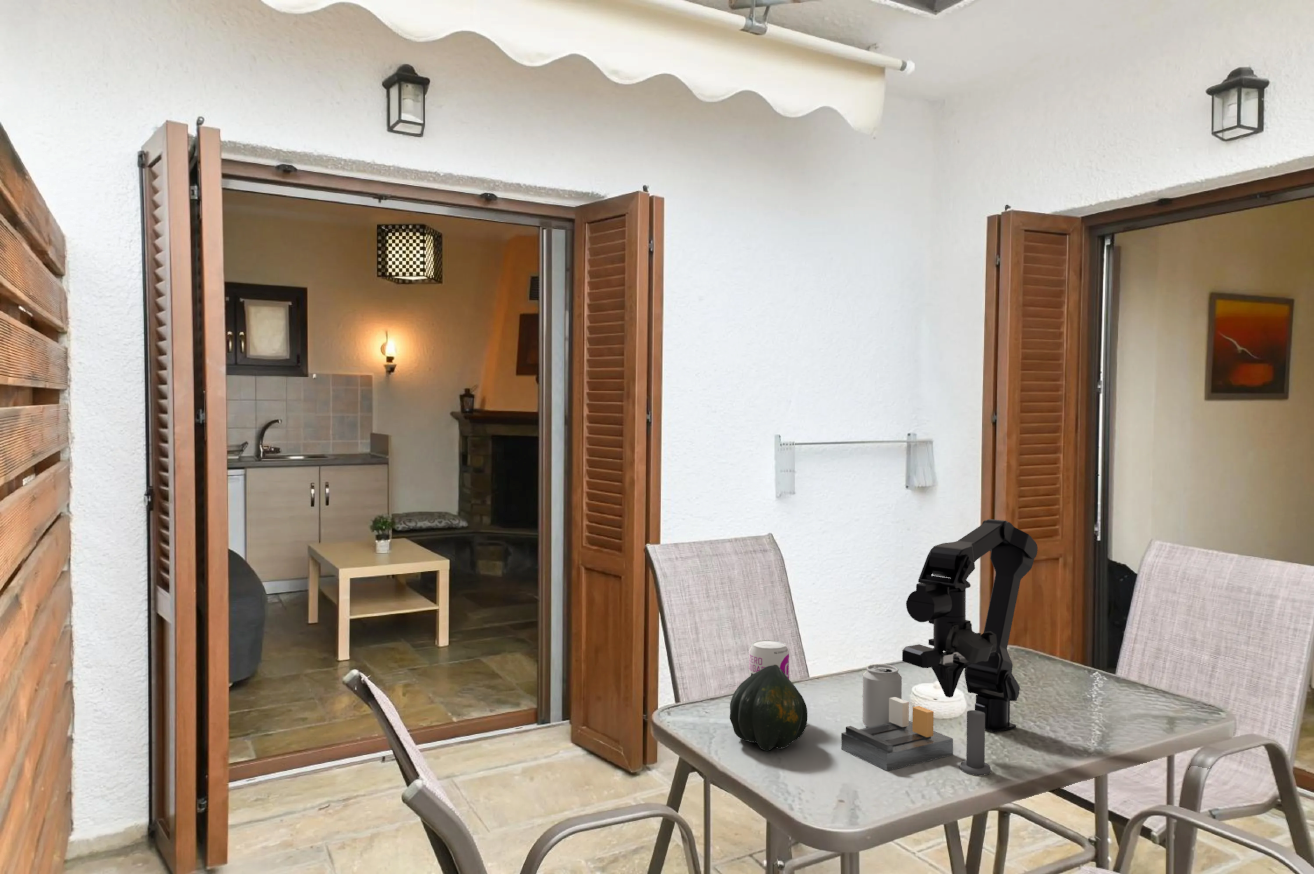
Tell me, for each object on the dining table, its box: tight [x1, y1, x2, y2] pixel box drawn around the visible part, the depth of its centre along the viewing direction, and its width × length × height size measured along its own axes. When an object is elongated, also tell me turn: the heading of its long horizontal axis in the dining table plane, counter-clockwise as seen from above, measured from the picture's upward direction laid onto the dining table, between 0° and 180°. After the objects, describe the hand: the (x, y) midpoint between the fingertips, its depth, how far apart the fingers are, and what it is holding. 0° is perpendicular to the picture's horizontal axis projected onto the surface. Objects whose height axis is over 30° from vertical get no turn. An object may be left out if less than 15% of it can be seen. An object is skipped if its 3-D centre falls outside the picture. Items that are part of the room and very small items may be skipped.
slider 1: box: [889, 697, 910, 727], centre depth 173 cm, size 2×4×4 cm, turn 29°
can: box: [862, 663, 903, 728], centre depth 181 cm, size 8×8×12 cm
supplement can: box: [748, 639, 790, 680], centre depth 187 cm, size 8×8×15 cm
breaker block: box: [840, 720, 954, 772], centre depth 167 cm, size 16×12×4 cm
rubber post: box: [959, 709, 992, 776], centre depth 159 cm, size 5×5×10 cm
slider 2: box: [912, 705, 935, 737], centre depth 167 cm, size 2×4×4 cm, turn 29°
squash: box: [729, 665, 808, 752], centre depth 172 cm, size 14×15×15 cm
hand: (949, 696), depth 170 cm, fingers closed
